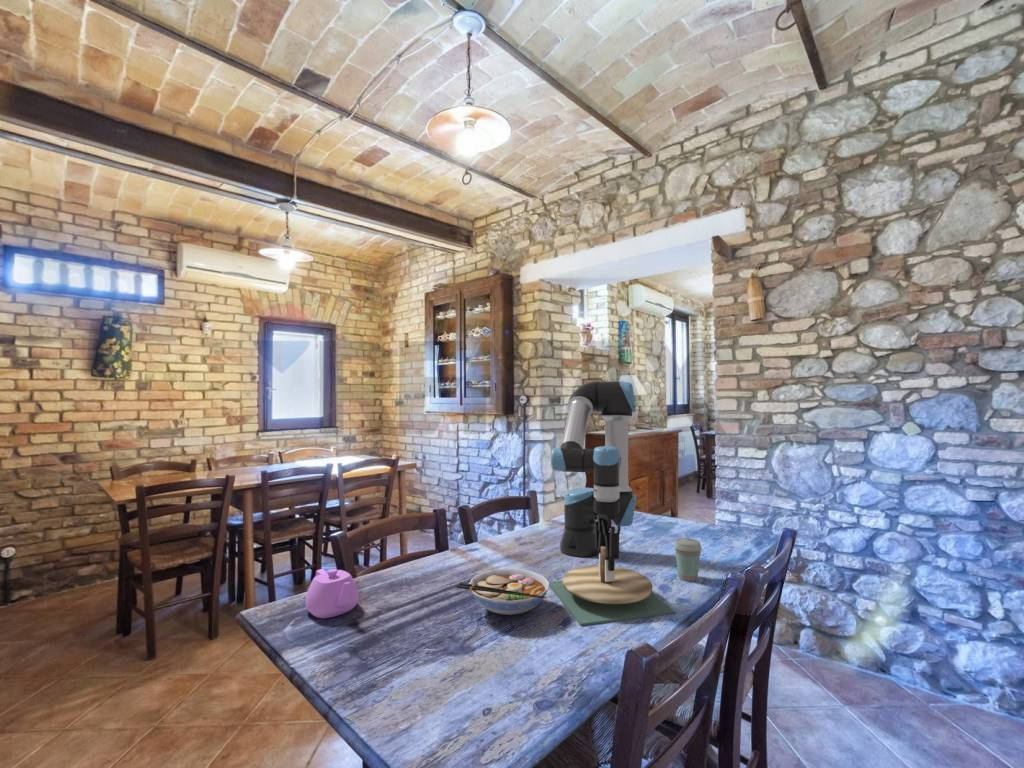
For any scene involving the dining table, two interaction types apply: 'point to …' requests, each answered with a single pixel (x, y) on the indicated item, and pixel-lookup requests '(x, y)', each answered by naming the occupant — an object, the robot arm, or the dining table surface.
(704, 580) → the dining table surface
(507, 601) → the ramen bowl
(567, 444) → the robot arm
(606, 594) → the lid
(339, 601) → the teapot
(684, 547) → the coffee cup
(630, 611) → the mat
